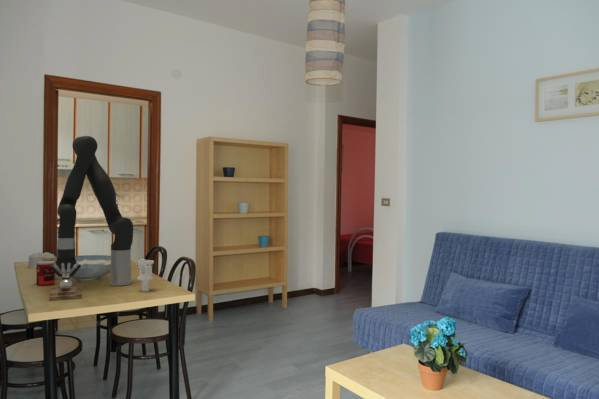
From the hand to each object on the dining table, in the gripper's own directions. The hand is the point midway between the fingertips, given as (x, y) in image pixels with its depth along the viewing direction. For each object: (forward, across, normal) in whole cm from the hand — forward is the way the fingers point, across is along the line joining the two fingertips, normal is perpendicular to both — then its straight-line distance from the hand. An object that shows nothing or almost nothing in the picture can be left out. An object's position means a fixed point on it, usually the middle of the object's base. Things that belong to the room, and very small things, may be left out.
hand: (65, 285), depth 211 cm
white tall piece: (+3, -33, +12) cm, 36 cm away
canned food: (+3, +9, -19) cm, 22 cm away
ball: (-2, 0, +6) cm, 6 cm away
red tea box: (+3, +8, -32) cm, 33 cm away
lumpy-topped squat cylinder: (+3, +14, -78) cm, 79 cm away
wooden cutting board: (+2, 0, +9) cm, 9 cm away
